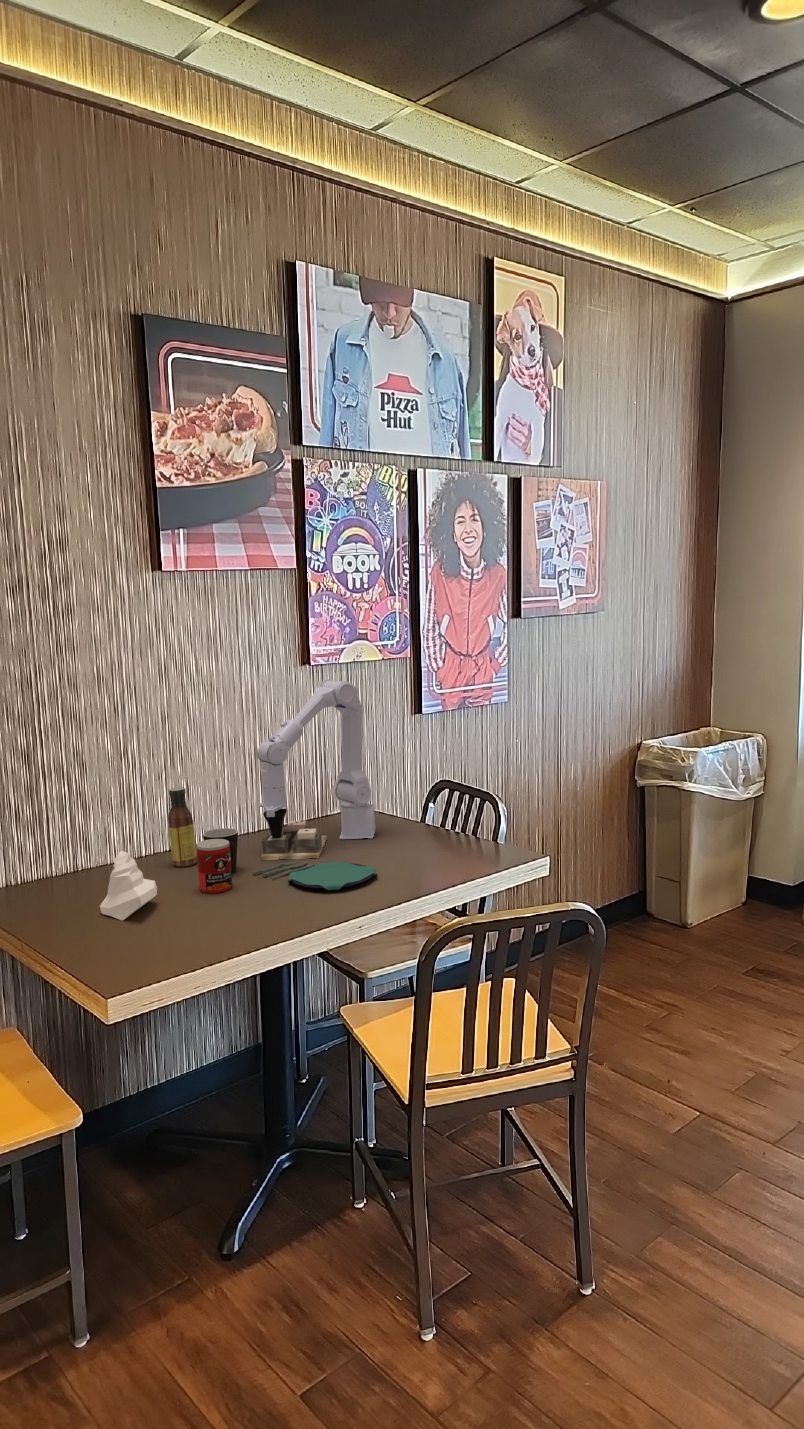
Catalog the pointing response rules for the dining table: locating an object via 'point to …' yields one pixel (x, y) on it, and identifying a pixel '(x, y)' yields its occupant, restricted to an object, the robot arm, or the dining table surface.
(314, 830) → the tile one
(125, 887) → the soft serve ice cream
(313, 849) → the console
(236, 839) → the coffee mug
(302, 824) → the tile three
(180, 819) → the sauce bottle
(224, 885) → the canned food
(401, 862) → the dining table surface
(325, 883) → the cutlery set
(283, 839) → the tile two
